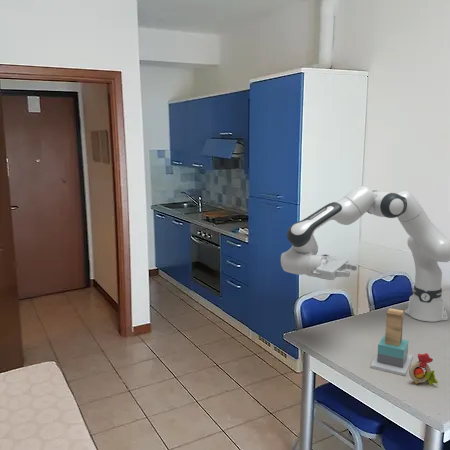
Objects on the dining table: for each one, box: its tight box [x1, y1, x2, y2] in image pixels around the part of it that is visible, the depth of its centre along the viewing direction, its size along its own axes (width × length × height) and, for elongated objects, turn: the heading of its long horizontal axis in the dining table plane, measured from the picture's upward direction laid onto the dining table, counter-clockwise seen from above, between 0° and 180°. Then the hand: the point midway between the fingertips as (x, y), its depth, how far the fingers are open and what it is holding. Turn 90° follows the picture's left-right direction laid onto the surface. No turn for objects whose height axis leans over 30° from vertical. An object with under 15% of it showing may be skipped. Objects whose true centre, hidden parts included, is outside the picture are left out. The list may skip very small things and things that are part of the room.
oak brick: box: [384, 308, 405, 346], centre depth 171 cm, size 5×5×12 cm
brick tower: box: [370, 335, 414, 377], centre depth 173 cm, size 16×12×8 cm
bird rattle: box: [408, 353, 439, 386], centre depth 158 cm, size 6×11×9 cm
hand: (353, 271), depth 180 cm, fingers open, 8 cm apart
